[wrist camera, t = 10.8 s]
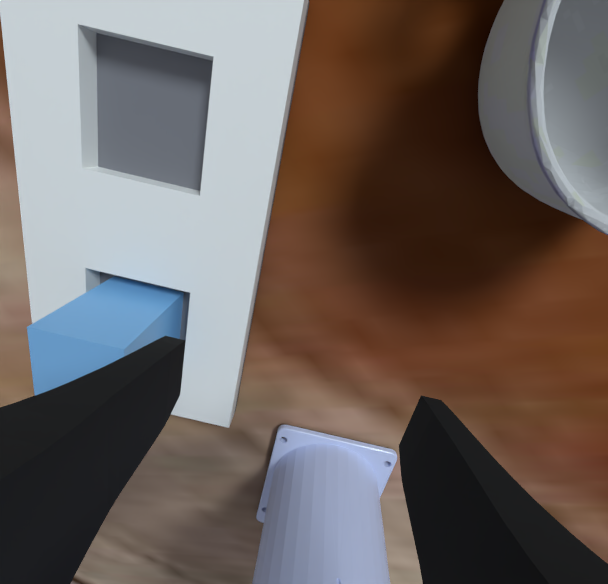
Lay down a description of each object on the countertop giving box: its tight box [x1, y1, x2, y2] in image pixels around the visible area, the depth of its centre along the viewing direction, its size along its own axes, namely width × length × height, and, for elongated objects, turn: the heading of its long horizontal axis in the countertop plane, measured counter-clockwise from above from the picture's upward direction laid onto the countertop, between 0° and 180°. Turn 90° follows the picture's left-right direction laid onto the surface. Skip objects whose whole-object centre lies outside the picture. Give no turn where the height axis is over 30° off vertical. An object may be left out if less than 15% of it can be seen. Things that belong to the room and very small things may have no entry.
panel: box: [0, 0, 309, 428], centre depth 18 cm, size 22×12×2 cm, turn 168°
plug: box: [27, 276, 184, 396], centre depth 18 cm, size 4×4×6 cm
